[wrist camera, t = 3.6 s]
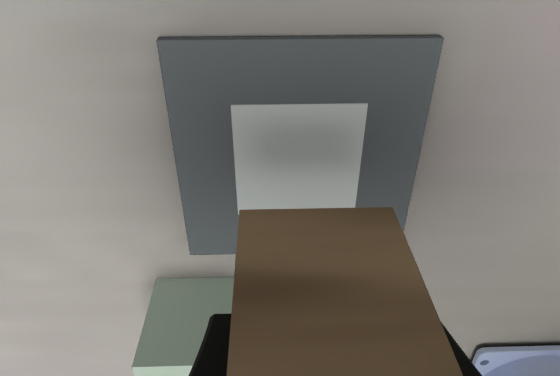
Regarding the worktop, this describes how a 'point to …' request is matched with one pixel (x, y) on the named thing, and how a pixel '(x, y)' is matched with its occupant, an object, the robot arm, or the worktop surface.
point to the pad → (294, 124)
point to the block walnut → (331, 298)
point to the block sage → (179, 323)
